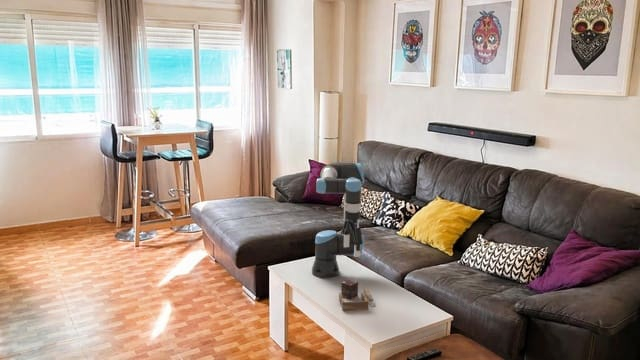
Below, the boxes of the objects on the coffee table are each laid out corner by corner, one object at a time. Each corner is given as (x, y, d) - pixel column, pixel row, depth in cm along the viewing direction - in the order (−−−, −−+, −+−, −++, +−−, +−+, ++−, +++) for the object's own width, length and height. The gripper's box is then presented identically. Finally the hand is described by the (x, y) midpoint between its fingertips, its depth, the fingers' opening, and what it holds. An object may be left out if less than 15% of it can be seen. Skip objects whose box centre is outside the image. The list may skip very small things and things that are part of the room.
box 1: (358, 296, 256) (358, 282, 255) (350, 299, 252) (350, 285, 250) (348, 292, 260) (349, 278, 259) (340, 296, 256) (341, 282, 254)
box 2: (338, 300, 251) (339, 292, 250) (363, 299, 252) (363, 291, 251) (342, 310, 240) (342, 302, 239) (368, 309, 241) (368, 301, 240)
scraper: (363, 292, 261) (363, 288, 260) (368, 292, 261) (368, 288, 261) (370, 306, 244) (370, 302, 244) (375, 306, 244) (375, 302, 244)
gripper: (336, 204, 262) (335, 243, 267) (355, 218, 239) (354, 261, 244) (350, 203, 264) (348, 242, 269) (370, 217, 241) (368, 259, 246)
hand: (351, 251), depth 257 cm, fingers open, 13 cm apart
